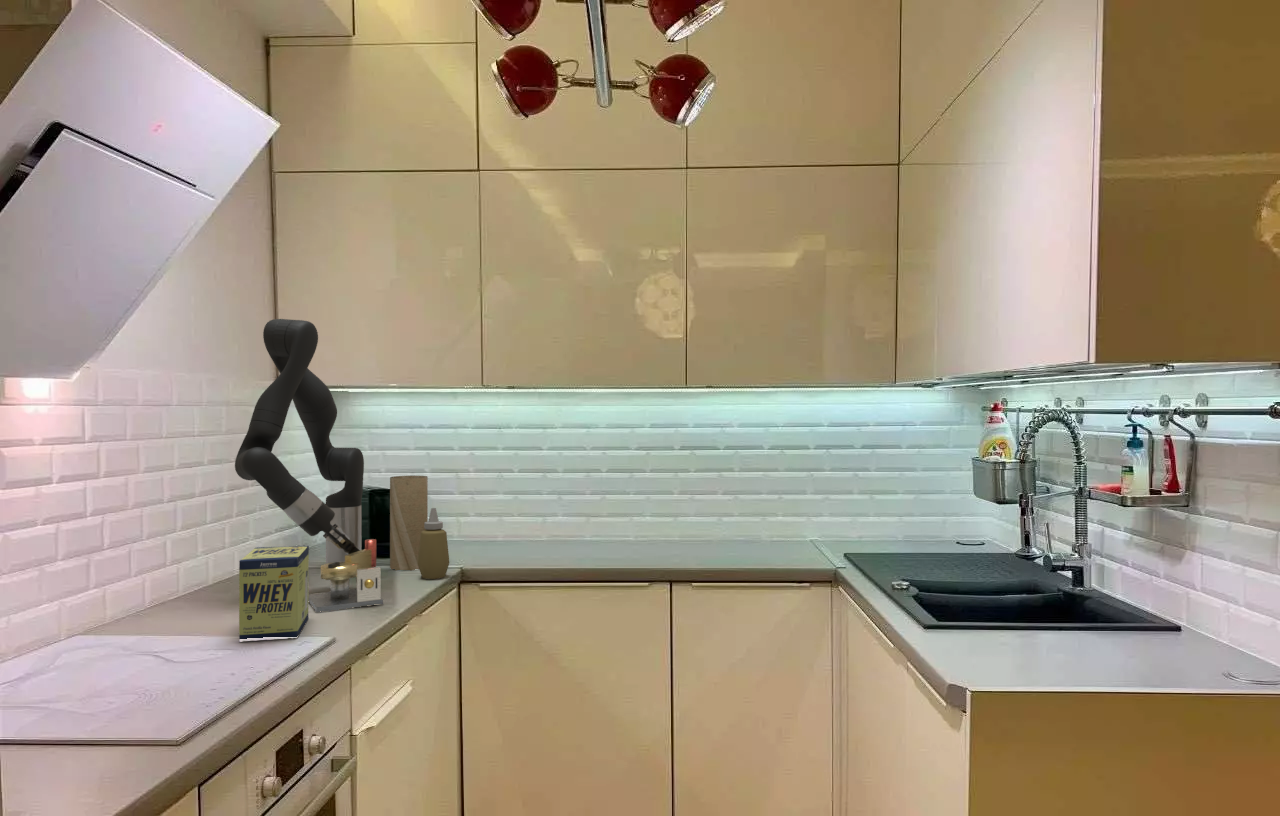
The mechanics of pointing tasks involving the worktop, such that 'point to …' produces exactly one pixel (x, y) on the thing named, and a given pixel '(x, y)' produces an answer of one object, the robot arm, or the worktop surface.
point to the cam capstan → (351, 563)
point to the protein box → (273, 592)
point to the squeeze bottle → (433, 549)
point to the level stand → (350, 592)
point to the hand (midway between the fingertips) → (362, 559)
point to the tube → (407, 519)
